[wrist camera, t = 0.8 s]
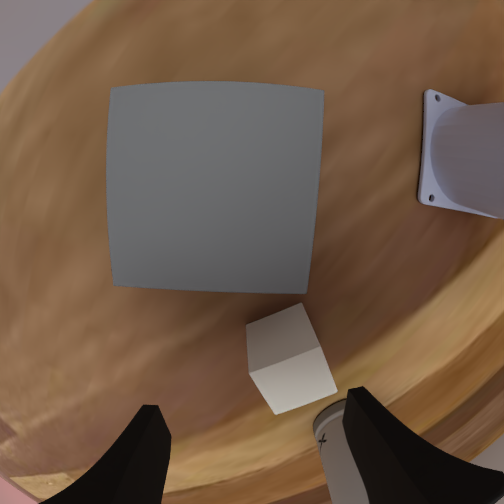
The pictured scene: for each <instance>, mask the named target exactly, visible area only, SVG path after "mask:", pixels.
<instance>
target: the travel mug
mask: <svg viewBox="0 0 504 504" xmlns="http://www.w3.org/2000/svg"><path fill="white" fill-rule="evenodd" d="M345 404H346V400H343V401H340V402H338V403H335V404H334V405H332V406H330V407H328V408H327V409H326V410H324V411H323V412H322V413H321V414H320V415H319V416H318V417H317V418H316V420H315V422H314V425H313V431H314V434H315V438H316V441H317V446H318V450H319V453H320V457H321V461H322V465H323V469H324V472H325V476H326V480H327V484H328V488H329V492H330V496H331V500H332V503H333V504H369V500H368V496H367V492H366V489H365V486H364V483H363V481H362V478H361V476H360V473H359V471H358V468H357V466H356V463H355V461H354V458H353V456H352V453H351V451H350V448H349V446H348V443H347V440H346V436H345V432H344V428H343V424H342V419H343V414H344V409H345Z"/></svg>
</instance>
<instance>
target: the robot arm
mask: <svg viewBox="0 0 504 504" xmlns="http://www.w3.org/2000/svg"><path fill="white" fill-rule="evenodd" d="M435 96H436V97H437V101H436V99H435ZM430 195H431V200H430V201H429V196H430ZM418 200H419V202H420V203H422V204H425V205H431V206H437V207H442V208H448V209H453V210H459V211H464V212H469V213H474V214H479V215H483V216H488V217H493V218H500V219H503V220H504V102H500V103H488V104H478V105H467V104H465V103H463V102H460V101H458V100H456V99H454V98H451V97H449V96H447V95H444V94H442V93H440V92H437V91H435V90H432V89H428V90H426V91H425V92H424V128H423V147H422V161H421V172H420V181H419V190H418ZM342 424H343V428H344V432H345V436H346V440H347V443H348V446H349V448H350V451H351V453H352V456H353V458H354V461H355V463H356V466H357V468H358V471H359V473H360V476H361V478H362V481H363V483H364V486H365V489H366V492H367V496H368V500H369V504H495V503H496V502H497V501H498V500H499V499H501V498H502V497H503V496H504V473H503V472H502V471H497V470H492V469H488V468H483V467H480V466H477V465H474V464H471V463H468V462H466V461H463V460H461V459H459V458H457V457H454V456H452V455H450V454H448V453H446V452H444V451H442V450H440V449H439V448H437V447H435V446H433V445H432V444H430V443H429V442H427V441H426V440H424V439H423V438H421V437H420V436H418V435H417V434H416V433H414V432H413V431H412V430H410V429H409V428H408V427H407V426H405V425H404V424H403V423H402V422H401V421H399V420H398V419H397V418H396V417H395V416H394V415H393V414H391V413H390V412H389V411H388V410H387V409H386V408H385V407H384V406H383V405H382V404H381V403H380V402H379V401H378V400H377V399H376V398H375V397H374V396H373V395H372V394H371V393H370V392H369V391H368V390H367V389H366V388H365V387H363V386H362V387H357V388H353V389H348V394H347V399H346V404H345V409H344V414H343V419H342ZM170 451H171V434H170V432H169V429H168V427H167V425H166V423H165V420H164V418H163V416H162V413H161V411H160V409H159V406H158V405H143V406H142V407H141V408H140V409H139V411H138V412H137V414H136V415H135V416H134V418H133V419H132V420H131V422H130V423H129V424H128V426H127V427H126V428H125V430H124V431H123V432H122V434H121V435H120V436H119V437H118V439H117V440H116V441H115V442H114V444H113V445H112V446H111V447H110V448H109V449H108V451H107V452H106V453H105V454H104V455H103V456H102V457H101V458H100V459H99V460H98V461H97V462H96V463H95V464H94V465H93V466H92V467H91V468H90V469H89V470H88V471H87V472H86V473H85V474H84V475H82V476H81V477H80V478H79V479H77V480H76V481H75V482H74V483H72V484H71V485H70V486H68V487H67V488H65V489H64V490H62V491H61V492H59V493H57V494H56V495H54V496H52V497H51V498H49V499H47V500H45V501H43V502H41V503H39V504H161V501H162V495H163V490H164V485H165V480H166V475H167V470H168V465H169V460H170Z"/></svg>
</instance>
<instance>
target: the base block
mask: <svg viewBox="0 0 504 504" xmlns="http://www.w3.org/2000/svg"><path fill="white" fill-rule="evenodd" d="M323 112H324V90H318V89H311V88H304V87H296V86H287V85H278V84H266V83H252V82H230V81H186V82H165V83H151V84H139V85H130V86H122V87H114V88H111V93H110V103H109V115H108V130H107V156H106V193H107V219H108V235H109V248H110V258H111V268H112V276H113V284H114V286H125V287H139V288H154V289H171V290H190V291H212V292H239V293H279V294H307V287H308V280H309V272H310V264H311V256H312V248H313V239H314V230H315V220H316V210H317V200H318V188H319V176H320V163H321V149H322V132H323Z"/></svg>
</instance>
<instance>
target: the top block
mask: <svg viewBox="0 0 504 504" xmlns="http://www.w3.org/2000/svg"><path fill="white" fill-rule="evenodd" d="M246 338H247V354H248V369H249V374H250V376H251V378H252V379H253V381H254V382H255V384H256V386H257V387H258V389H259V390H260V392H261V394H262V395H263V397H264V398H265V400H266V401H267V403H268V404H269V406H270V408H271V409H272V411H273V412H274V414H275V415H276V414H280V413H283V412H286V411H289V410H292V409H294V408H297V407H300V406H303V405H306V404H308V403H311V402H314V401H316V400H319V399H321V398H324V397H326V396H329V395H331V394H334V393H336V392H338V391H337V388H336V386H335V383H334V380H333V378H332V375H331V372H330V370H329V367H328V364H327V362H326V359H325V356H324V354H323V351H322V349H321V346H320V344H319V341H318V339H317V337H316V334H315V332H314V330H313V327H312V325H311V323H310V320H309V318H308V316H307V313H306V311H305V309H304V306H303V304H302V302H301V303H299V304H296V305H294V306H292V307H289V308H287V309H284V310H282V311H279V312H277V313H274V314H272V315H269V316H267V317H264V318H262V319H259V320H257V321H254V322H252V323H249V324H246Z"/></svg>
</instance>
